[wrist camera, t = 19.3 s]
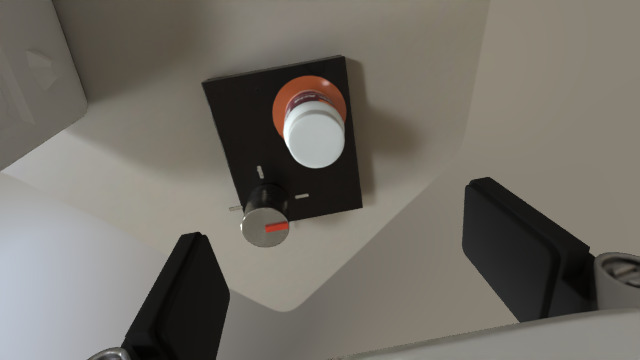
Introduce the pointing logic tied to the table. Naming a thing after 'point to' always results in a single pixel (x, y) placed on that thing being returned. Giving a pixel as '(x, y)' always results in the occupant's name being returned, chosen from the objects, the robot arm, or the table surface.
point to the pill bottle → (313, 129)
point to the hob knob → (266, 216)
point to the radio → (34, 78)
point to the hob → (281, 140)
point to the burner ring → (302, 85)
